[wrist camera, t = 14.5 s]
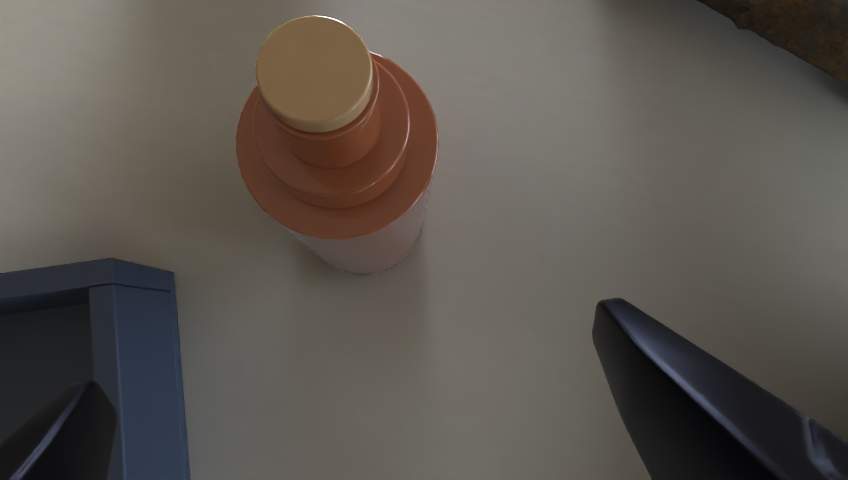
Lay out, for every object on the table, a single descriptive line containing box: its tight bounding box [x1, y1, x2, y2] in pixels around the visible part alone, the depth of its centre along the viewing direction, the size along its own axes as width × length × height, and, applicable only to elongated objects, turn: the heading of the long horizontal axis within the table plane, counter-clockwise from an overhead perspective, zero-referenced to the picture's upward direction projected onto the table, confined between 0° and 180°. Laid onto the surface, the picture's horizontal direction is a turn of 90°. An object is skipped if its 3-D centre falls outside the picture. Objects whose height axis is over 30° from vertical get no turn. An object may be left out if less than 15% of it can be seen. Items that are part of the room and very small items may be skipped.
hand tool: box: [697, 0, 848, 84], centre depth 21 cm, size 19×4×5 cm, turn 56°
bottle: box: [236, 15, 439, 275], centre depth 15 cm, size 5×5×12 cm
